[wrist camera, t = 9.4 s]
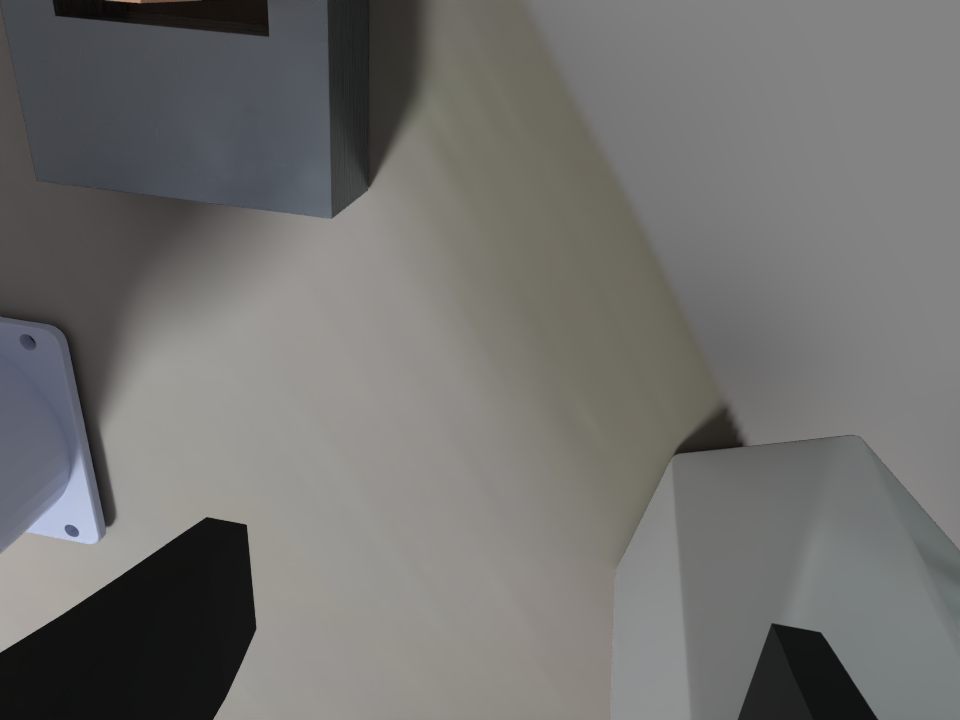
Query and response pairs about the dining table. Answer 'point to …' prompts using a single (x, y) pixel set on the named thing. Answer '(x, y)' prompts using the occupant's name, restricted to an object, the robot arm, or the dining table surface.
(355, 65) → the grey slotted tray
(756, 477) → the jar
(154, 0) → the tan block
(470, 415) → the dining table surface
